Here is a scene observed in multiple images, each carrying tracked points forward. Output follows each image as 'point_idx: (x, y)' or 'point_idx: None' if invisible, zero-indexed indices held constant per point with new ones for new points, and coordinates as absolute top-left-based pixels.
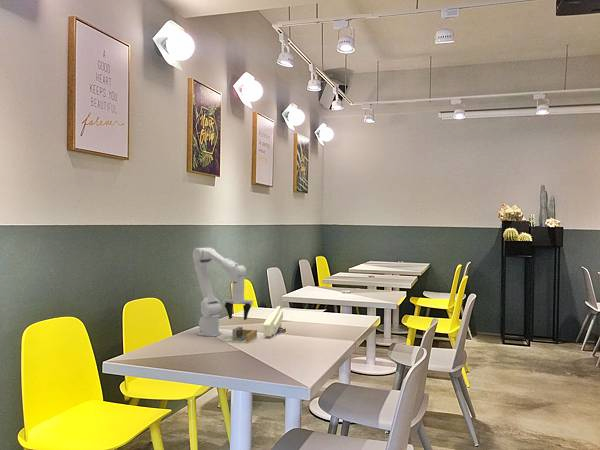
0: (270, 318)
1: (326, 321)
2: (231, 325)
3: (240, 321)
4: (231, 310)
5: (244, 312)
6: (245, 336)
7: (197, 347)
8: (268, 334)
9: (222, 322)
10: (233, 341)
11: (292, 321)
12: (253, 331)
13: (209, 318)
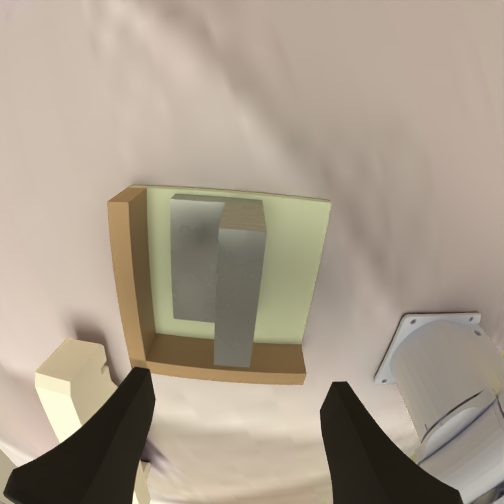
0: None
1: None
2: None
3: (315, 494)
4: (340, 483)
5: (104, 434)
6: (176, 277)
7: (443, 17)
8: (72, 343)
9: None
10: (251, 193)
11: (157, 498)
12: (132, 337)
13: (483, 389)
